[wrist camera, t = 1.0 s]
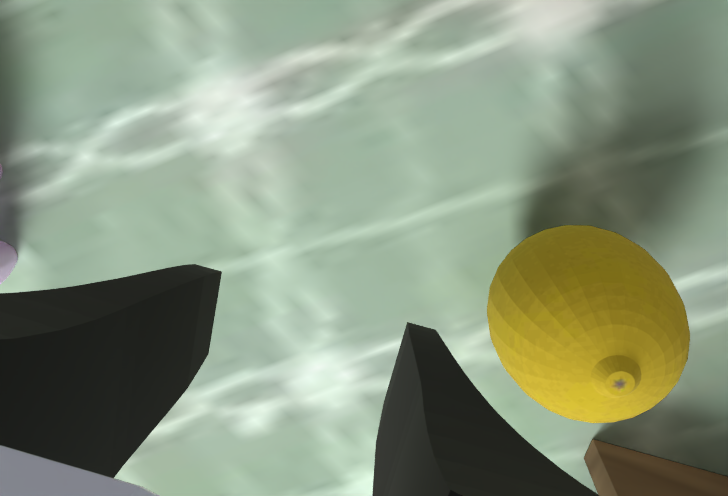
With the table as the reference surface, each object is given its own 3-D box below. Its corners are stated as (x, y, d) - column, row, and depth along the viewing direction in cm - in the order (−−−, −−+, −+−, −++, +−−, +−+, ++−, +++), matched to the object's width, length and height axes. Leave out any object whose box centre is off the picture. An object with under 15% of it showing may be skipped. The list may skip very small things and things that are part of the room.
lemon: (586, 173, 19) (684, 234, 12) (653, 297, 20) (784, 426, 13) (451, 248, 21) (461, 345, 13) (520, 360, 22) (567, 510, 14)
